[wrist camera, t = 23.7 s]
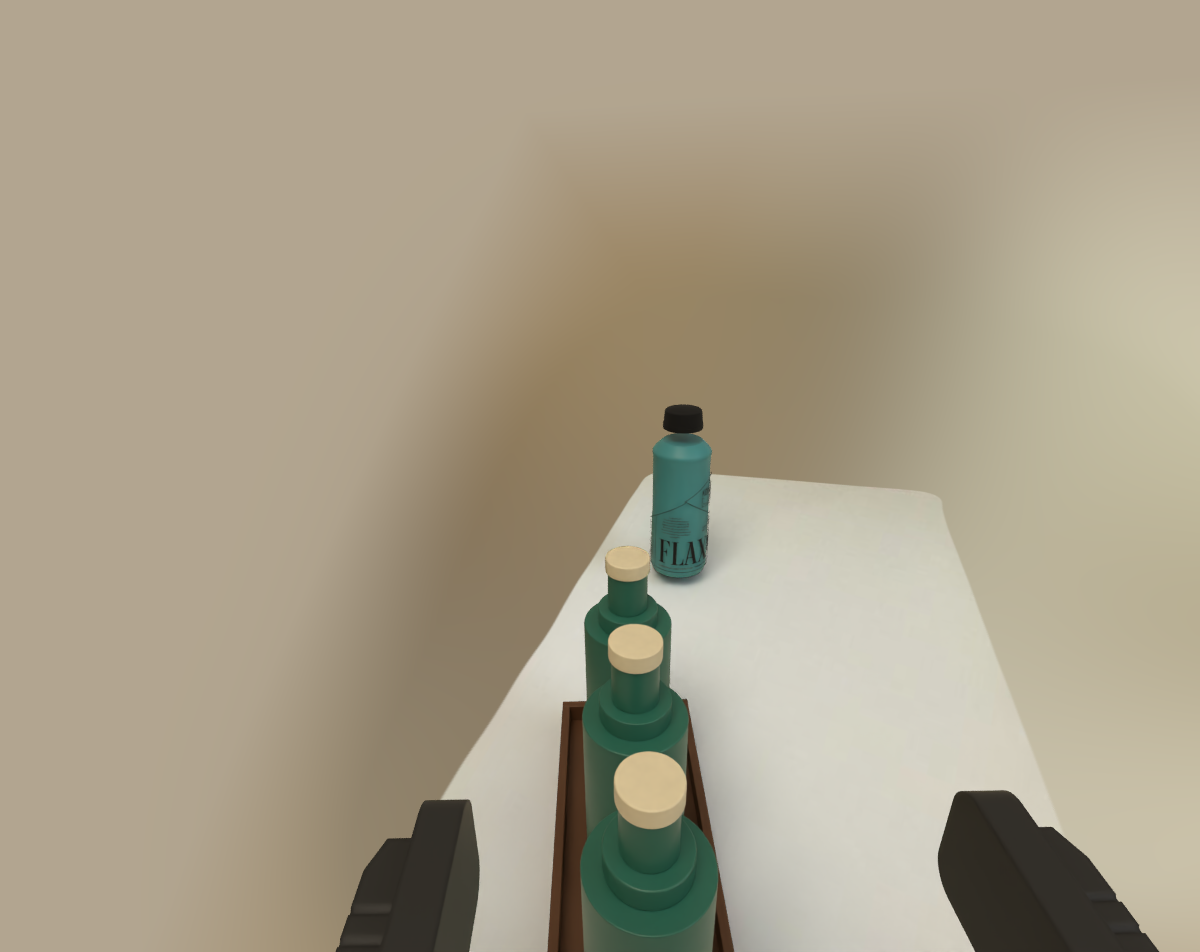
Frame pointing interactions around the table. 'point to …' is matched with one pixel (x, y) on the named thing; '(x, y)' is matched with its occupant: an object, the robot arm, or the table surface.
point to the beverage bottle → (680, 494)
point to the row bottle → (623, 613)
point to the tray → (573, 835)
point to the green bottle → (648, 866)
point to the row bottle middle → (629, 716)
